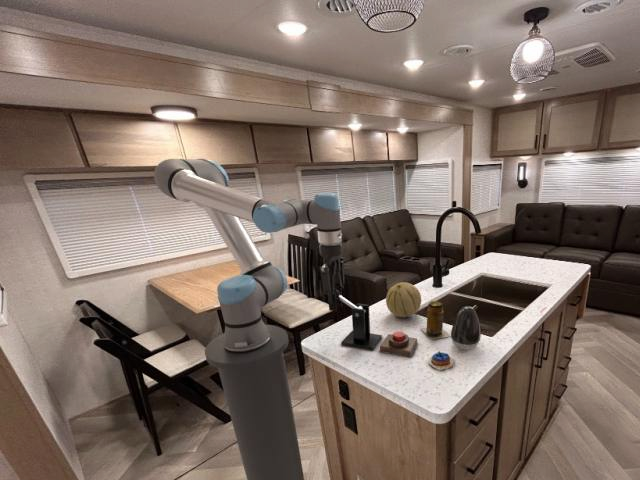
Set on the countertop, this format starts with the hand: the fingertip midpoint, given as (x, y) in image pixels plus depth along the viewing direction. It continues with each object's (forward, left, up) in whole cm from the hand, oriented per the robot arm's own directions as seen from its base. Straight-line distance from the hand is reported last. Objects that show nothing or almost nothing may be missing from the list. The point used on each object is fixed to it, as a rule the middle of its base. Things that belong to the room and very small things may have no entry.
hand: (336, 308), depth 114 cm
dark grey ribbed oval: (+45, +8, -12) cm, 48 cm away
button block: (+23, 0, -12) cm, 26 cm away
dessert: (+39, -5, -12) cm, 42 cm away
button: (+24, 0, -8) cm, 25 cm away
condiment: (+33, +14, -12) cm, 38 cm away
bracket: (+9, 0, -12) cm, 15 cm away
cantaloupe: (+17, +25, -12) cm, 33 cm away
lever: (+4, 0, +1) cm, 4 cm away
